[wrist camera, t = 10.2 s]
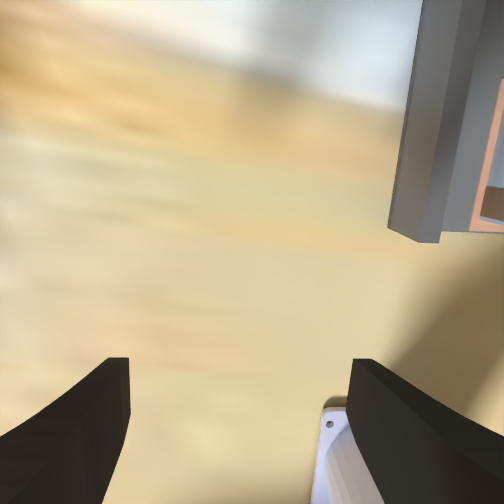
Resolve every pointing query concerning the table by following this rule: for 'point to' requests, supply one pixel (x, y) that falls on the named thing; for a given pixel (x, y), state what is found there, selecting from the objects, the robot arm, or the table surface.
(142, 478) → the table surface
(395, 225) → the tray
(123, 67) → the table surface
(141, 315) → the table surface
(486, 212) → the blue block
